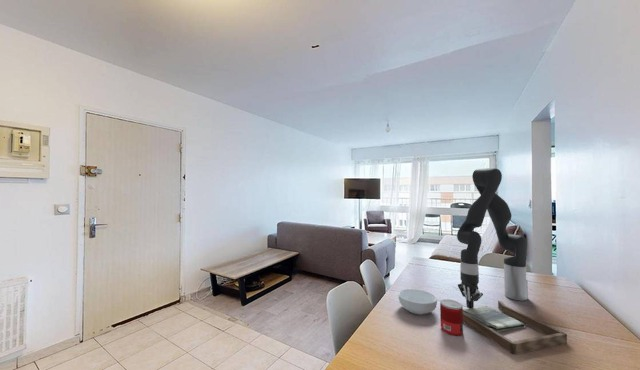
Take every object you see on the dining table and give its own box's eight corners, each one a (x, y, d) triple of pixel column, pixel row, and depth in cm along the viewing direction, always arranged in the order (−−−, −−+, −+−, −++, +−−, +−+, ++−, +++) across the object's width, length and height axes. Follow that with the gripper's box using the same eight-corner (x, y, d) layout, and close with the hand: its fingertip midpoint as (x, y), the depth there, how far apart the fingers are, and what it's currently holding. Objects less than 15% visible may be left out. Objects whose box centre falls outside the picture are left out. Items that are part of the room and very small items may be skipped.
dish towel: (486, 308, 117) (486, 302, 117) (526, 329, 99) (526, 321, 99) (454, 313, 112) (454, 306, 112) (491, 335, 95) (490, 327, 95)
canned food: (466, 337, 93) (465, 308, 93) (443, 335, 94) (443, 306, 95) (458, 326, 100) (458, 300, 101) (438, 324, 102) (437, 298, 102)
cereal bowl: (434, 305, 119) (434, 291, 119) (439, 322, 104) (439, 306, 104) (398, 300, 125) (398, 286, 125) (398, 316, 109) (398, 300, 109)
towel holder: (499, 307, 117) (499, 300, 117) (571, 342, 90) (571, 333, 90) (447, 315, 109) (447, 307, 110) (508, 355, 82) (507, 345, 82)
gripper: (488, 275, 110) (488, 313, 110) (464, 266, 123) (465, 301, 123) (474, 277, 109) (475, 315, 108) (452, 267, 121) (452, 302, 121)
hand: (469, 307), depth 115 cm, fingers closed
